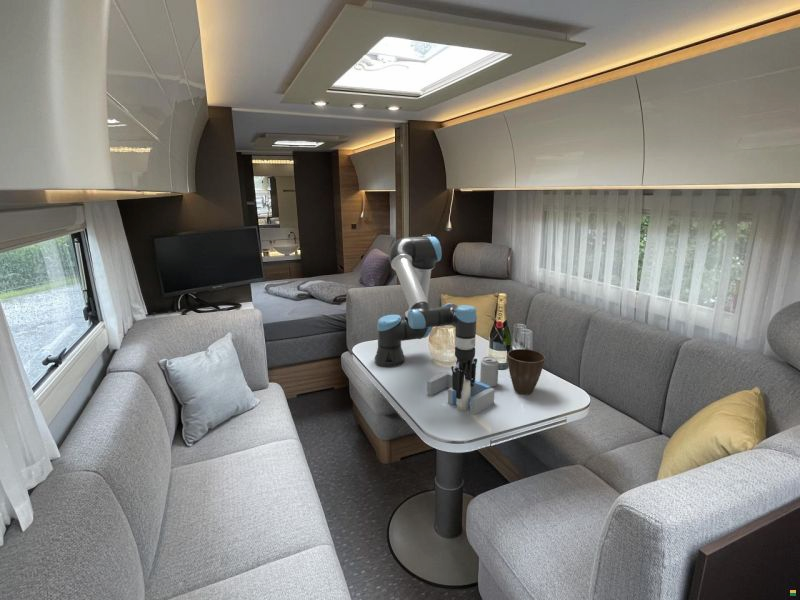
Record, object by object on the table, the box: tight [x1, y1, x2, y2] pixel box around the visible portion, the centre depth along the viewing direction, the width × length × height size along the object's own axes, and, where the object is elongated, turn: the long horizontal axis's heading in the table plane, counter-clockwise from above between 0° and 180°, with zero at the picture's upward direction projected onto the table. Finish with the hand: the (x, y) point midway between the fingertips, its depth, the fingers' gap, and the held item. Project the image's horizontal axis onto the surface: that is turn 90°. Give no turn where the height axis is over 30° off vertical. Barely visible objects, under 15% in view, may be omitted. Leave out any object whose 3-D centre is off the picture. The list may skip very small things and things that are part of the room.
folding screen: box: [426, 371, 496, 416], centre depth 161 cm, size 24×13×7 cm, turn 44°
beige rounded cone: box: [456, 379, 470, 412], centre depth 154 cm, size 5×5×11 cm
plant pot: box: [507, 348, 546, 395], centre depth 166 cm, size 15×15×16 cm
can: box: [479, 355, 499, 388], centre depth 173 cm, size 8×8×12 cm
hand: (463, 403), depth 154 cm, fingers closed on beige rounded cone, 4 cm apart
